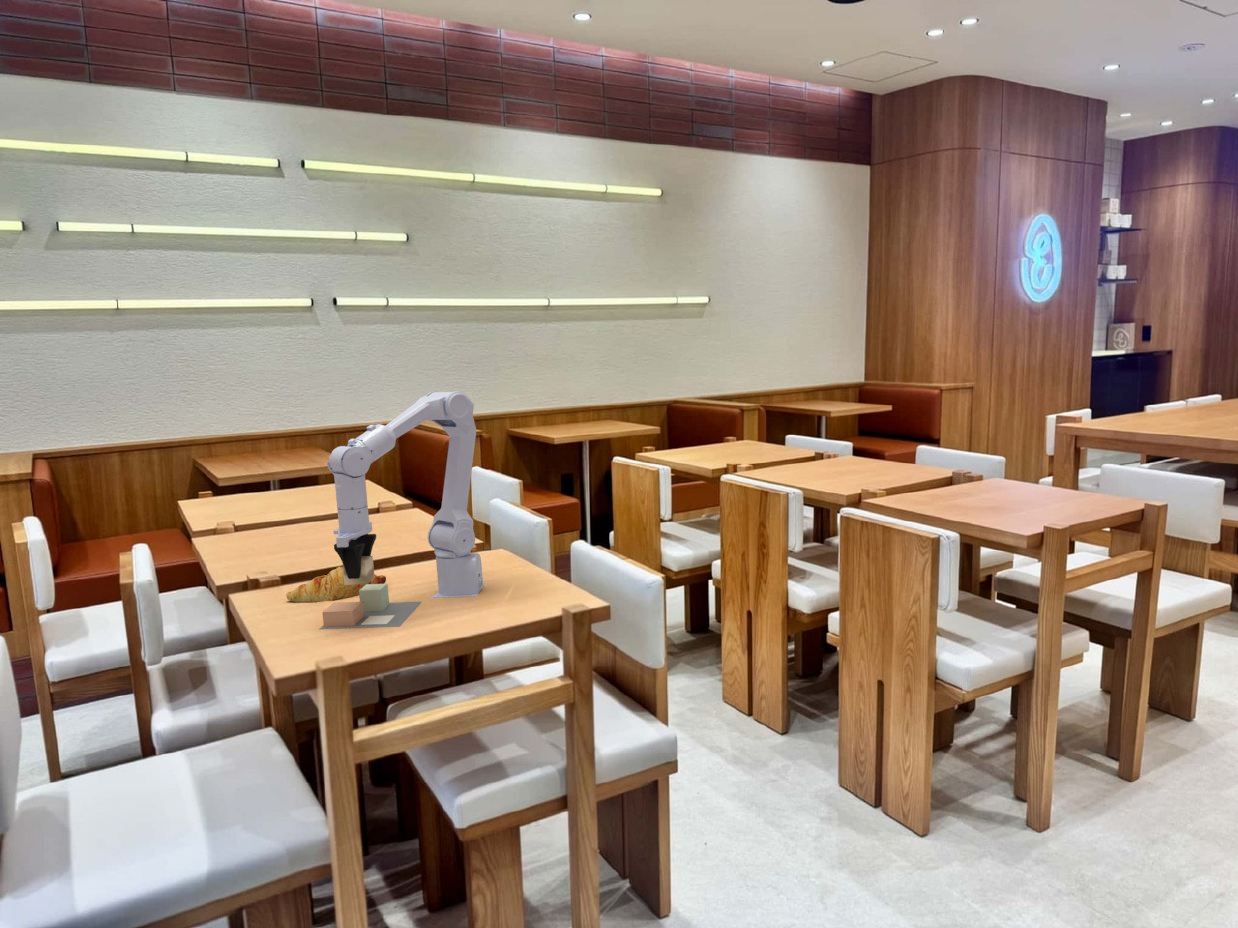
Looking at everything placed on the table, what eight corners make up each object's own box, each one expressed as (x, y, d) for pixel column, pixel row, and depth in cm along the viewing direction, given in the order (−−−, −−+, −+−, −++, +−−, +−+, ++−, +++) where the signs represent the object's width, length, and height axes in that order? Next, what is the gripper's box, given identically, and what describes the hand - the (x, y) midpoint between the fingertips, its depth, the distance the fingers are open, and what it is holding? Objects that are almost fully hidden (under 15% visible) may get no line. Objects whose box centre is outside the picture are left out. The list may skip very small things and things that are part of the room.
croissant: (290, 623, 180) (287, 596, 175) (284, 592, 187) (281, 565, 182) (390, 604, 188) (390, 577, 184) (381, 575, 196) (380, 549, 191)
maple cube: (374, 577, 168) (372, 555, 168) (367, 583, 164) (365, 561, 163) (352, 578, 168) (350, 556, 168) (344, 584, 164) (342, 562, 163)
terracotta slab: (364, 615, 169) (363, 601, 168) (354, 625, 163) (352, 610, 163) (335, 616, 169) (334, 602, 169) (323, 626, 163) (322, 611, 163)
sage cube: (389, 604, 176) (387, 583, 175) (382, 611, 172) (380, 589, 171) (368, 605, 176) (366, 584, 176) (360, 611, 172) (358, 590, 171)
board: (422, 603, 177) (422, 601, 177) (400, 629, 161) (399, 626, 161) (348, 606, 178) (348, 603, 178) (318, 631, 162) (318, 629, 162)
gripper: (345, 501, 171) (351, 565, 173) (317, 515, 157) (324, 585, 159) (379, 500, 171) (385, 564, 173) (355, 513, 157) (361, 584, 159)
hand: (358, 574), depth 166 cm, fingers closed on maple cube, 4 cm apart
